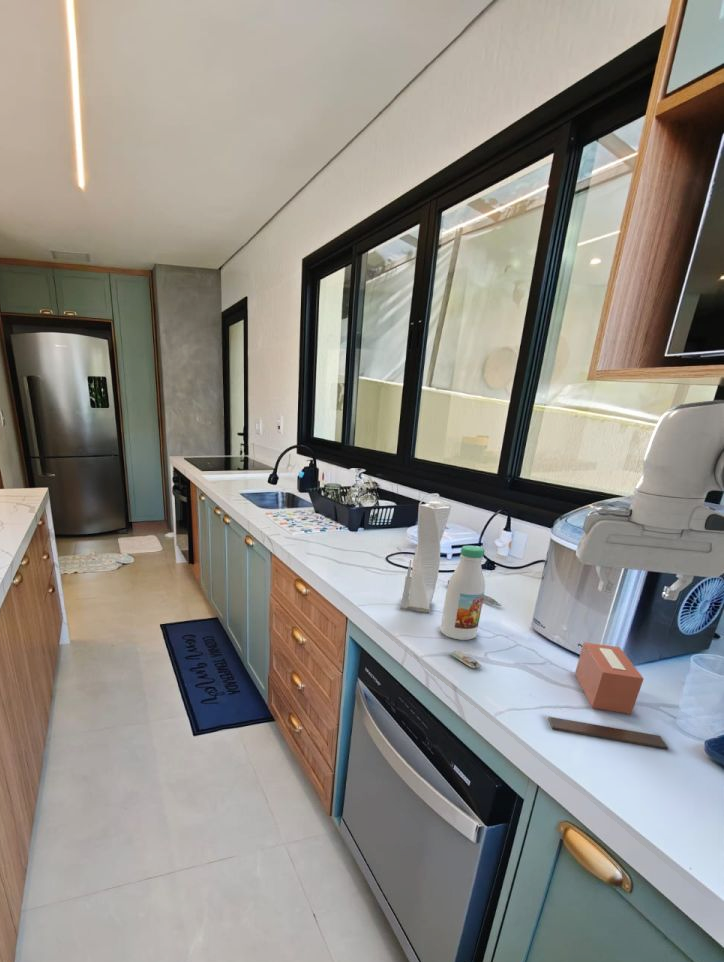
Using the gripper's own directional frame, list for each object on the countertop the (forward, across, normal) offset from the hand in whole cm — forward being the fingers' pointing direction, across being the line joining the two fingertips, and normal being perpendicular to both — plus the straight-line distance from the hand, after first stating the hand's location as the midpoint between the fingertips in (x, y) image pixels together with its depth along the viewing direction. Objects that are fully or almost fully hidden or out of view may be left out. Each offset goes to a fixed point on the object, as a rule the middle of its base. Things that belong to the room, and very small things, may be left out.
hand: (635, 595), depth 83 cm
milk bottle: (+20, -24, +19) cm, 36 cm away
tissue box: (+20, 0, +1) cm, 20 cm away
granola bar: (+20, -23, +5) cm, 31 cm away
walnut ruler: (+20, -3, -12) cm, 23 cm away
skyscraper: (+20, -32, +34) cm, 51 cm away
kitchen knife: (+20, -18, +45) cm, 53 cm away
